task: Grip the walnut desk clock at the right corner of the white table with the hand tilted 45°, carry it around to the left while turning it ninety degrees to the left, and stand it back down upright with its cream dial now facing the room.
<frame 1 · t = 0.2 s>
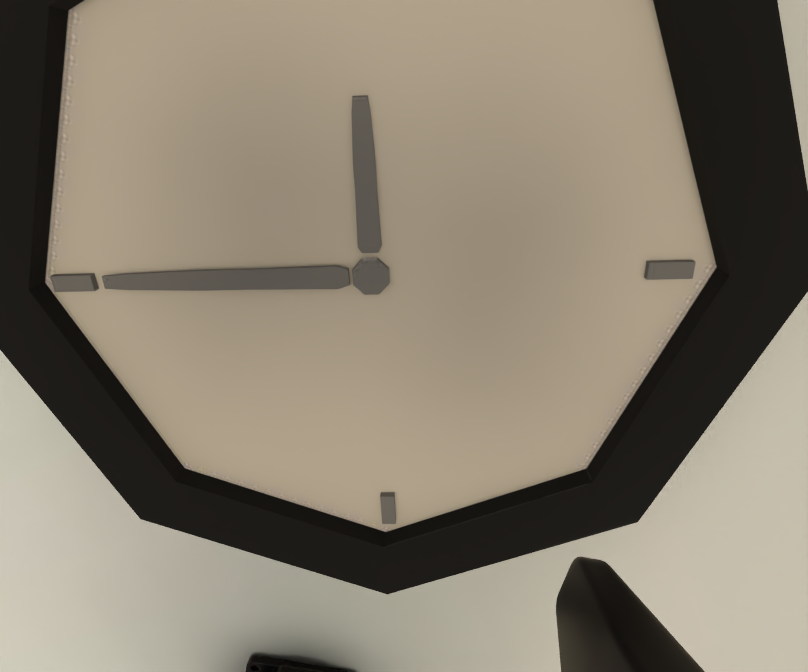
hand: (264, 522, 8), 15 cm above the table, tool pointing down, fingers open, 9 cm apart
wall clock: (374, 257, 21), on the table
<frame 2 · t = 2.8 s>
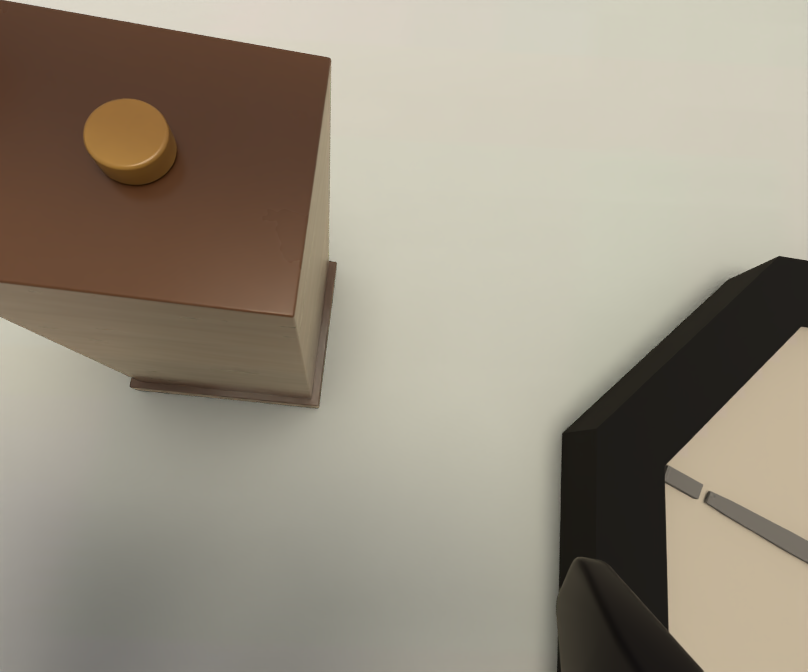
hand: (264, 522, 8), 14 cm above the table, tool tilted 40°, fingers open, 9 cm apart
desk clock: (241, 326, 22), on the table
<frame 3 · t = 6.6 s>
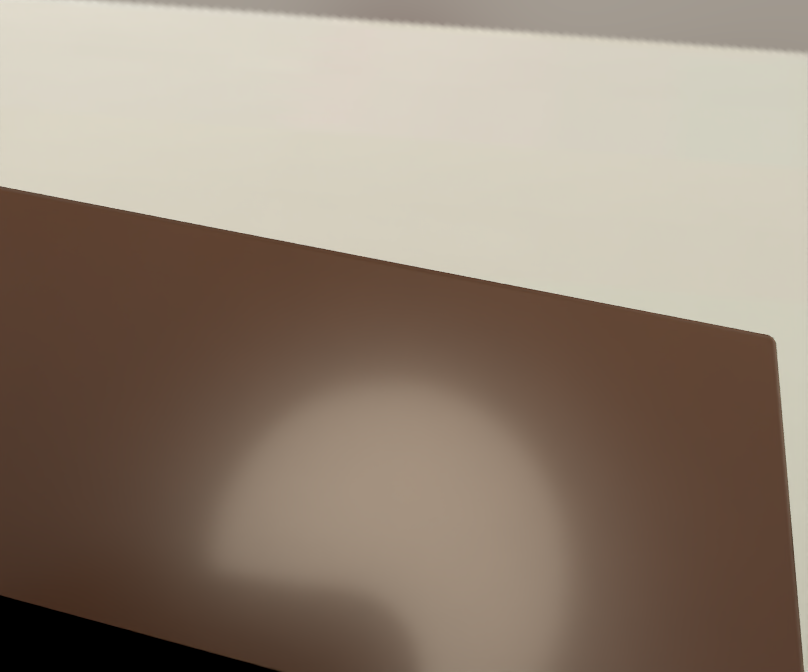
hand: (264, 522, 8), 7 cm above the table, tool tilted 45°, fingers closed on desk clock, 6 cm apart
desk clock: (289, 583, 13), on the table, touching gripper
when the fingers open (7 cm above the table, at t = 15.3 s): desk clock stays where it is, on the table.
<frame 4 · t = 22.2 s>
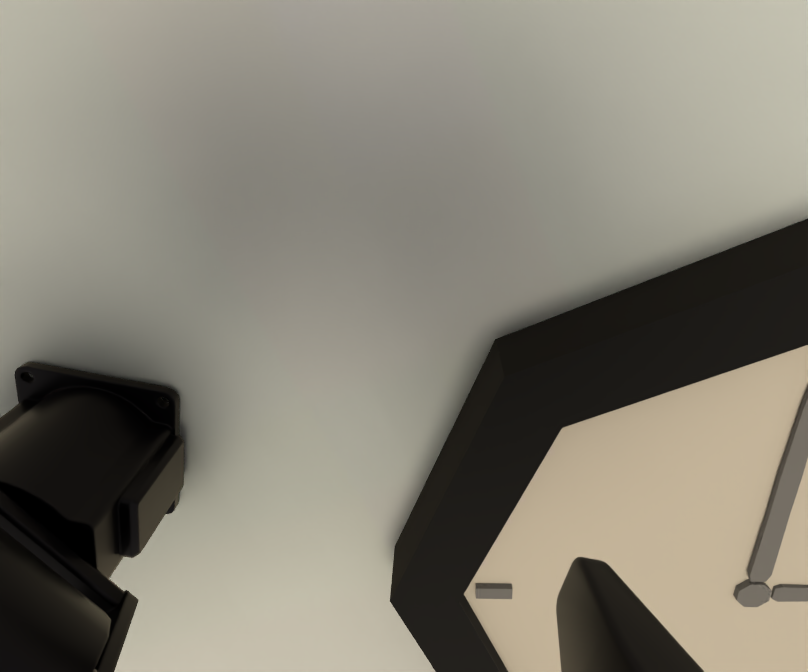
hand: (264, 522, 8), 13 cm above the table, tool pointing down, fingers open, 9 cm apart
wall clock: (724, 546, 24), on the table
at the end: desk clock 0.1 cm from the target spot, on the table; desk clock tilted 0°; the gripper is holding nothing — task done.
